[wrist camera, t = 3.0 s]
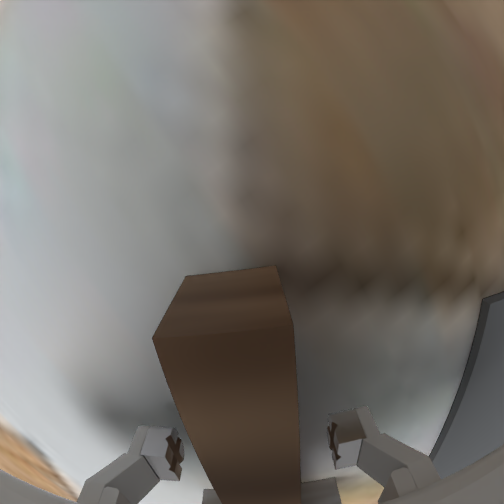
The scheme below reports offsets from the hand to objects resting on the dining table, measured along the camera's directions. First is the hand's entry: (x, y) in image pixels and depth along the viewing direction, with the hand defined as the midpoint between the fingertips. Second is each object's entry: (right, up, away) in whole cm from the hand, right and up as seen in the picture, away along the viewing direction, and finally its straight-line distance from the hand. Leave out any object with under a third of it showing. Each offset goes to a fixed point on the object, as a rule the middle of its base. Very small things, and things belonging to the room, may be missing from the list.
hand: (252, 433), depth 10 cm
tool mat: (+19, -6, +4) cm, 20 cm away
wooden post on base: (0, -1, +2) cm, 2 cm away
